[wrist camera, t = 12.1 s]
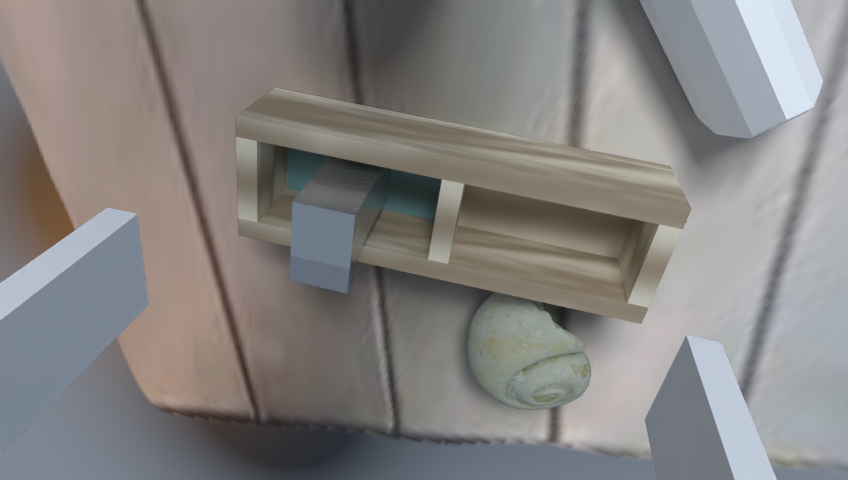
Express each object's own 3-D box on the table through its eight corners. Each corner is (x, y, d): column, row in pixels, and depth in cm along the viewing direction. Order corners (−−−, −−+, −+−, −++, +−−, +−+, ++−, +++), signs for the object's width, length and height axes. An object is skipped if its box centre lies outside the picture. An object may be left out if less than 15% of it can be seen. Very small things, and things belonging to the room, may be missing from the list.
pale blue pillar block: (343, 139, 46) (292, 201, 36) (393, 150, 45) (355, 215, 36) (338, 207, 49) (289, 280, 39) (384, 217, 48) (347, 293, 39)
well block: (275, 87, 46) (235, 115, 40) (670, 166, 43) (691, 209, 37) (274, 195, 50) (238, 235, 44) (629, 271, 48) (641, 323, 42)
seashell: (606, 429, 47) (486, 449, 49) (588, 371, 55) (483, 390, 56) (579, 293, 43) (447, 320, 45) (563, 249, 50) (450, 274, 52)
